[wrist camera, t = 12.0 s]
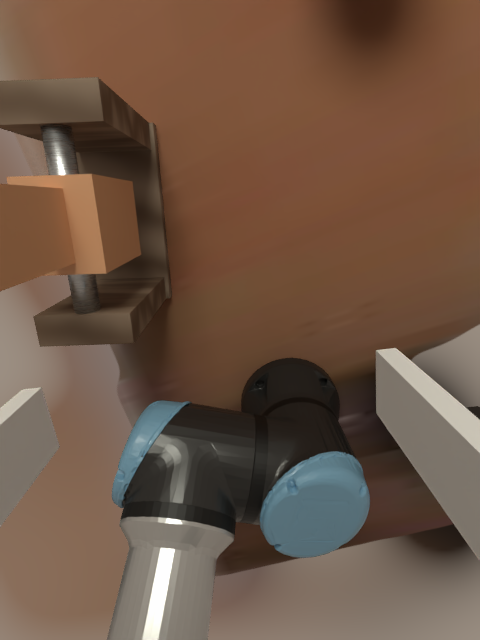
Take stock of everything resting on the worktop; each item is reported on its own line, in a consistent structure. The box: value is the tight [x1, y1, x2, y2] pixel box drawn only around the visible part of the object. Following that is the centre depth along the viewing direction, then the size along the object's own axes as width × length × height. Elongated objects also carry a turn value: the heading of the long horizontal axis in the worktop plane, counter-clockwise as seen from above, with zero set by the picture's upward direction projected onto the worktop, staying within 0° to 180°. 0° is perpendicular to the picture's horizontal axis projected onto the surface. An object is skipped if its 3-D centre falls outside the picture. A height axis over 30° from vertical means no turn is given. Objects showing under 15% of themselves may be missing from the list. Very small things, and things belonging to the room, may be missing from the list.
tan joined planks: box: [0, 174, 141, 291], centre depth 30 cm, size 8×7×23 cm
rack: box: [0, 77, 172, 346], centre depth 40 cm, size 22×10×18 cm, turn 2°
